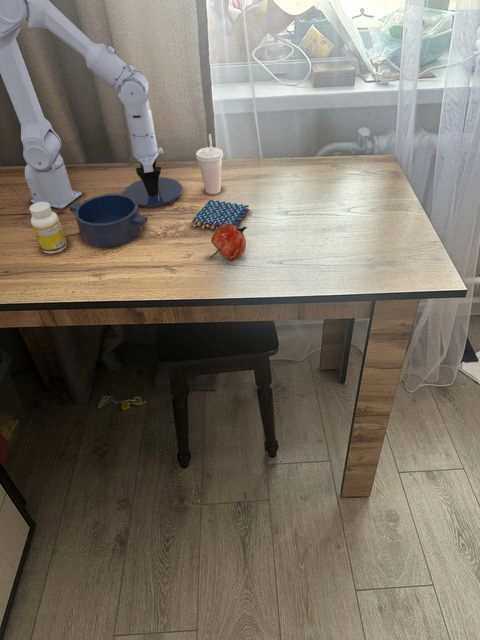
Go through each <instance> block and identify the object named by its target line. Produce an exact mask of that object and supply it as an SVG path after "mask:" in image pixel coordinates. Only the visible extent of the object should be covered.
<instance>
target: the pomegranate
mask: <svg viewBox="0 0 480 640" xmlns="http://www.w3.org/2000/svg"><path fill="white" fill-rule="evenodd" d="M246 229H248V226H246V225H244V226H243V227H241V228H240V227H239V228H238V226H237V227H236V226H234V225H231V224H224V225H221V226H220V227H218V228H217V229H216V228H215V231H214V232H213V234H212V236H211V240H210V242H211V244H212V245H213V246H214V247H215V249H217V250H216V251H215V252H214V253H213V254H212V255H210V256H209V258H210V259H212V258H213V257H214V256H215V255H217V254H218V253H219V254H220V255H222V256H223V257H225V258H227V260H229V261H234V260H236V259H239V258H240V257H241V256H242V255H243V254H244V252H245V251H246V248H247V240H246V236H245V234H244V231H245V230H246Z"/></svg>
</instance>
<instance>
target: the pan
mask: <svg viewBox="0 0 480 640" xmlns="http://www.w3.org/2000/svg"><path fill="white" fill-rule="evenodd" d="M68 209H69V212H73V214H74V216H75V221H76V223H77V226H78V229H79V230H78V231H79V233H80V236H81V239H82V240H83V242H84V243H86V244H87V245H89V246H92V247H96V248H114V247H119V246H123V245H126V244H127V243H130V242H132V241H134V240H135V239H136V238H138V237H139V236H140V235H141V234H142V231H143V226H144V225H145V224H146V223H147V222H148V216H147V215H146V216H145V215H141V212H140V206H138V204H137V202H136V200H135V199H133V198H131V197H129V196H126V195H124V194H120V193H110V194H109V193H107V194H101V195H96V196H93V197H91V198H89V199H86V200H84V201H83V202H76V201H75V202H73V203H72V204H70V206H68Z"/></svg>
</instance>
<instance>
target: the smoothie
mask: <svg viewBox="0 0 480 640" xmlns="http://www.w3.org/2000/svg"><path fill="white" fill-rule="evenodd" d="M208 141H209V142H208V143H209V146H207V147H202V148H199V149H198V150H196V153H195V158H196V160H197V161H198V165H199V169H200V172H201V177H202V181H203V185H204V189H205V193H207V194H208V195H216V194H219V193H220V192H221V187H222V163H223V162H222V159H223V157H224V154H223V150H222V149H221V148H220V147H215V146H213V141H212V133H208Z"/></svg>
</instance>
